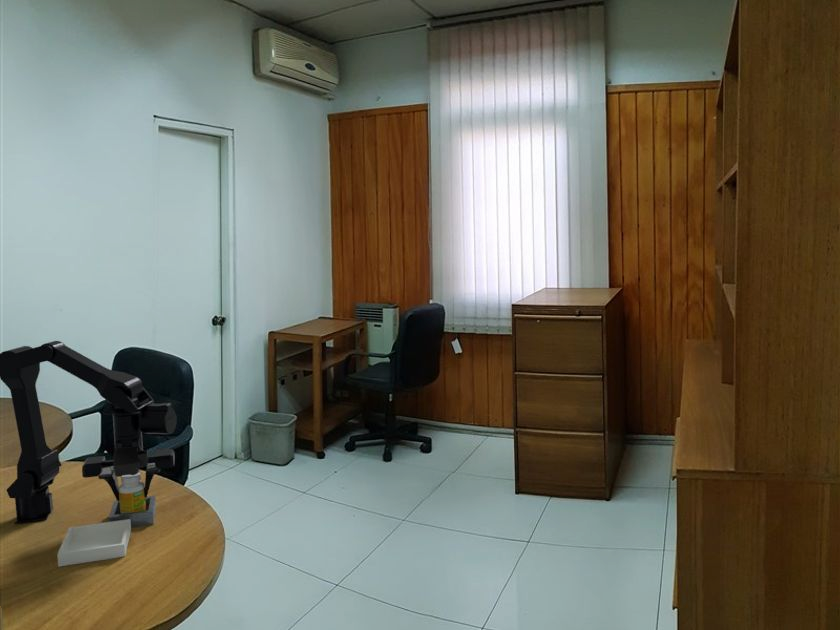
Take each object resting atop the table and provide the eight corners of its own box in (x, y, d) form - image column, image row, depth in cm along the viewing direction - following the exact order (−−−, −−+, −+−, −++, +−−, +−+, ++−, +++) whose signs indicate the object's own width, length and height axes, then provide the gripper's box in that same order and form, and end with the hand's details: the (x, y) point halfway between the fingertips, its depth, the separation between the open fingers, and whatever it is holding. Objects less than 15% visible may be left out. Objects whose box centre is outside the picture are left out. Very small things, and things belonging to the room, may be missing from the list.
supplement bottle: (136, 521, 142) (133, 480, 141) (115, 519, 143) (112, 478, 142) (151, 511, 148) (148, 471, 146) (130, 509, 149) (127, 469, 147)
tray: (58, 566, 125) (57, 554, 124) (70, 538, 136) (69, 527, 136) (125, 556, 129) (124, 544, 128) (131, 530, 140) (130, 519, 140)
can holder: (109, 530, 140) (108, 517, 139) (114, 513, 148) (113, 501, 148) (153, 524, 143) (152, 511, 142) (156, 507, 151) (155, 495, 151)
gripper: (75, 449, 132) (80, 519, 134) (170, 439, 138) (174, 507, 140) (84, 433, 143) (89, 498, 145) (172, 424, 149) (176, 488, 151)
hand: (132, 498), depth 145 cm, fingers closed on supplement bottle, 5 cm apart
